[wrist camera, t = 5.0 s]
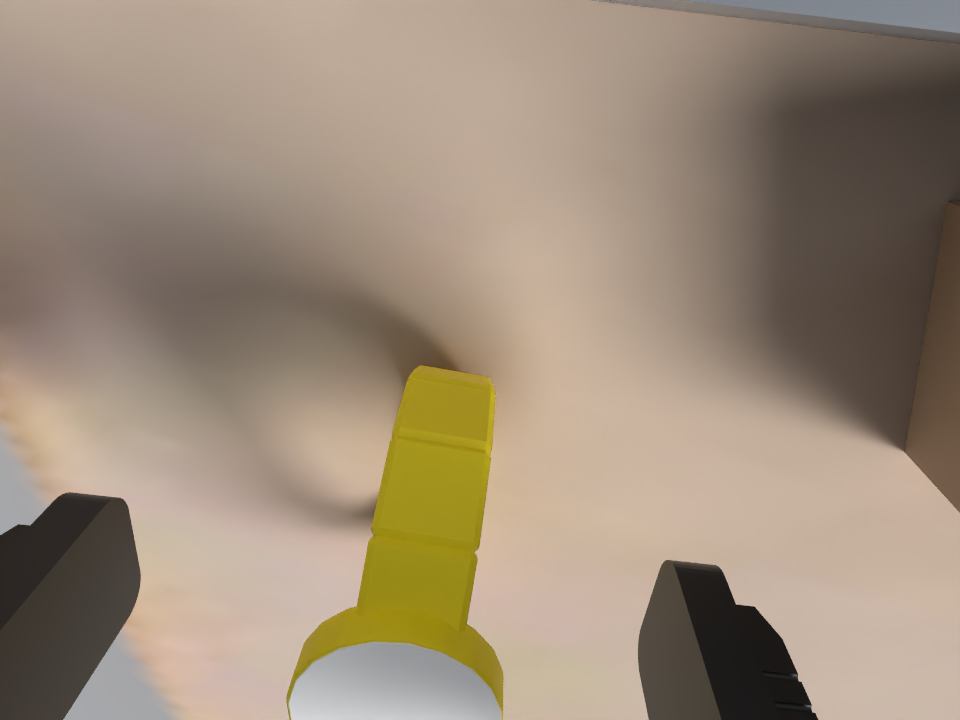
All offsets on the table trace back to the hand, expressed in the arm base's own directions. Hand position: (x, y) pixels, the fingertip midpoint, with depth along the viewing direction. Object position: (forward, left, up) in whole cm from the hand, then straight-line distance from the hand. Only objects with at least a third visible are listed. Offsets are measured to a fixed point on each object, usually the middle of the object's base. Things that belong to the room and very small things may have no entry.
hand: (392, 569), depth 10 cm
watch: (0, 0, -4) cm, 4 cm away
